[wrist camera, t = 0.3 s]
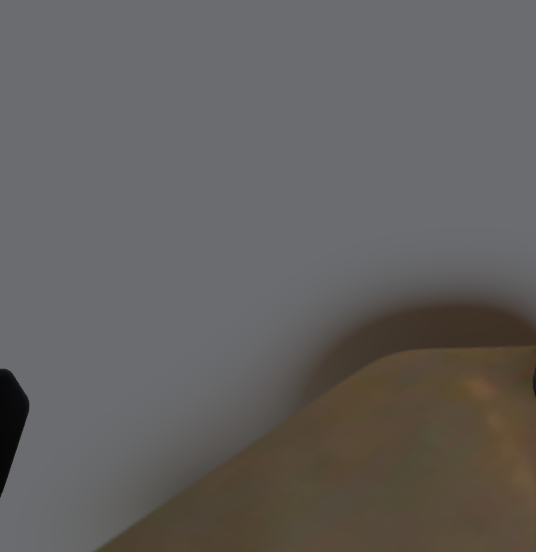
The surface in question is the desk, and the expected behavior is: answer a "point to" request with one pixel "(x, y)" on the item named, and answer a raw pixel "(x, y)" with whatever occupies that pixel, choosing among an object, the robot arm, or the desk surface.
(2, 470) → the robot arm
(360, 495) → the desk surface
